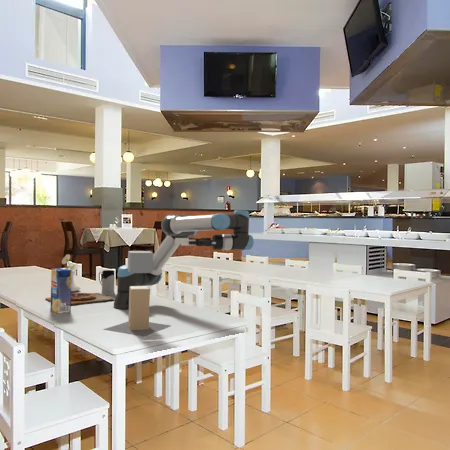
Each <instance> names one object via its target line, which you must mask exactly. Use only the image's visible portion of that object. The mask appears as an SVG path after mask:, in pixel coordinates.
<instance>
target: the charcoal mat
mask: <svg viewBox="0 0 450 450" xmlns="http://www.w3.org/2000/svg"><path fill="white" fill-rule="evenodd" d="M170 327H172V325H170V324H162V323H158V322H157V323H156V322H150V321H149V329H144V330H130V329H129V326H128V321H125V322H121V323H119V324H115V325H112V326H109V327H106V328H103V329H102V330H103V331H110V332H116V333H121V334H127V335H132V336H137V337H138V336H139V337H147V336H149V335H151V334H154V333H157V332H159V331H161V330H165V329H168V328H170Z"/></svg>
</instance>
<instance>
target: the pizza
mask: <svg viewBox="0 0 450 450" xmlns="http://www.w3.org/2000/svg"><path fill="white" fill-rule="evenodd" d="M115 298H116V297H115ZM115 298H114V297H112V296H110V295H102V294H101V292H94V293H93V292H92V293H91V292H71V306H81V305H82V306H84V305H90V304H91V305H93V304H101V303H105V302H108V301H113V300H114V301H115ZM45 300H46V301H48V302H49V303H51V296H50V297H45Z"/></svg>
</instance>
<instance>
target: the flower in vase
mask: <svg viewBox="0 0 450 450" xmlns="http://www.w3.org/2000/svg"><path fill="white" fill-rule="evenodd" d="M70 260H71V255H70V254H65V256H64V257H62V260H61V265H65V264H67V263H68V265H66V266H65V267H64V268H66V269H69V270H72V277H71V293H74V292H78V291H79V290H81V287H80V285H78V284H77V283H76V282H75V281H74V276H75V273H76V270H73V269H74V268H75V264H73V265H70V262H69V261H70Z"/></svg>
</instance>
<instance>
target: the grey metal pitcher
mask: <svg viewBox="0 0 450 450" xmlns="http://www.w3.org/2000/svg"><path fill="white" fill-rule="evenodd" d="M101 274H102V279H101V277H100V276H101ZM115 278H116V276H115V270H112V269H111V270H108V269H107V270H106V269H105V270H102V271H100V272H99V273H98V281H99V284H100V285H101V292H100V294H102V295H108V296H111V295H112V296H113V295H115V294H116V293H115Z"/></svg>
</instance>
